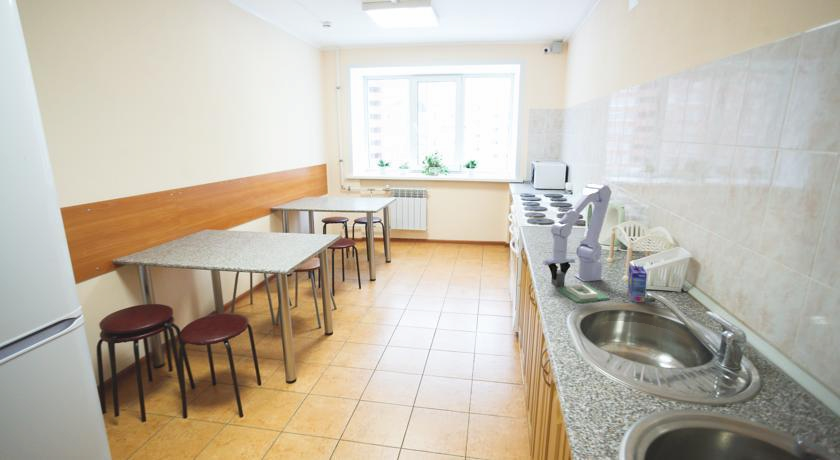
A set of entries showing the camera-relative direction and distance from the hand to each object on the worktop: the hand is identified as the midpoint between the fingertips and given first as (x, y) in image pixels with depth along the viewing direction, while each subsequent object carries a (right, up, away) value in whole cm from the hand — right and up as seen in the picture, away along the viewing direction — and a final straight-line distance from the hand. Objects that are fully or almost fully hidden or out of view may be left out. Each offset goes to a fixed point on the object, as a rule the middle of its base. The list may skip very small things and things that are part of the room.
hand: (558, 278), depth 181 cm
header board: (+6, -5, -11) cm, 14 cm away
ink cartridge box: (+27, -6, -15) cm, 31 cm away
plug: (0, -3, +1) cm, 3 cm away
